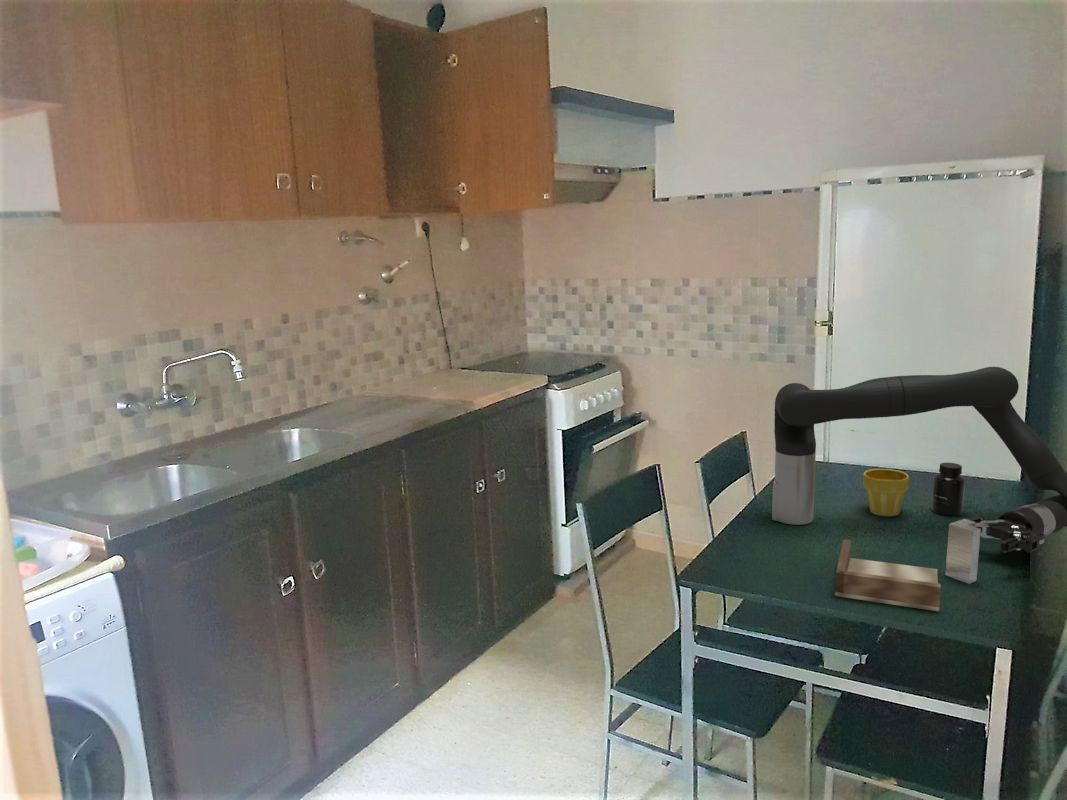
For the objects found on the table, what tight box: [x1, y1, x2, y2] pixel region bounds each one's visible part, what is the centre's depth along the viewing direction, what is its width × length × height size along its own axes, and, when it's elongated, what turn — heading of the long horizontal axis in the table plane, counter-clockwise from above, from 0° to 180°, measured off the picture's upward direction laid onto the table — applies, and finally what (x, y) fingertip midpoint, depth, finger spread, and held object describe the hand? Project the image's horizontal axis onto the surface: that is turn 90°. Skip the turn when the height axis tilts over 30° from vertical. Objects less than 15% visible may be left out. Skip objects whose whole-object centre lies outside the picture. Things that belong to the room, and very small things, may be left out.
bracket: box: [945, 518, 981, 585], centre depth 159 cm, size 5×5×11 cm
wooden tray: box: [834, 538, 942, 612], centre depth 158 cm, size 18×18×5 cm
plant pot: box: [862, 468, 910, 517], centre depth 196 cm, size 10×10×10 cm
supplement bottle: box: [931, 462, 966, 517], centre depth 194 cm, size 7×7×12 cm
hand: (981, 540), depth 161 cm, fingers open, 8 cm apart
